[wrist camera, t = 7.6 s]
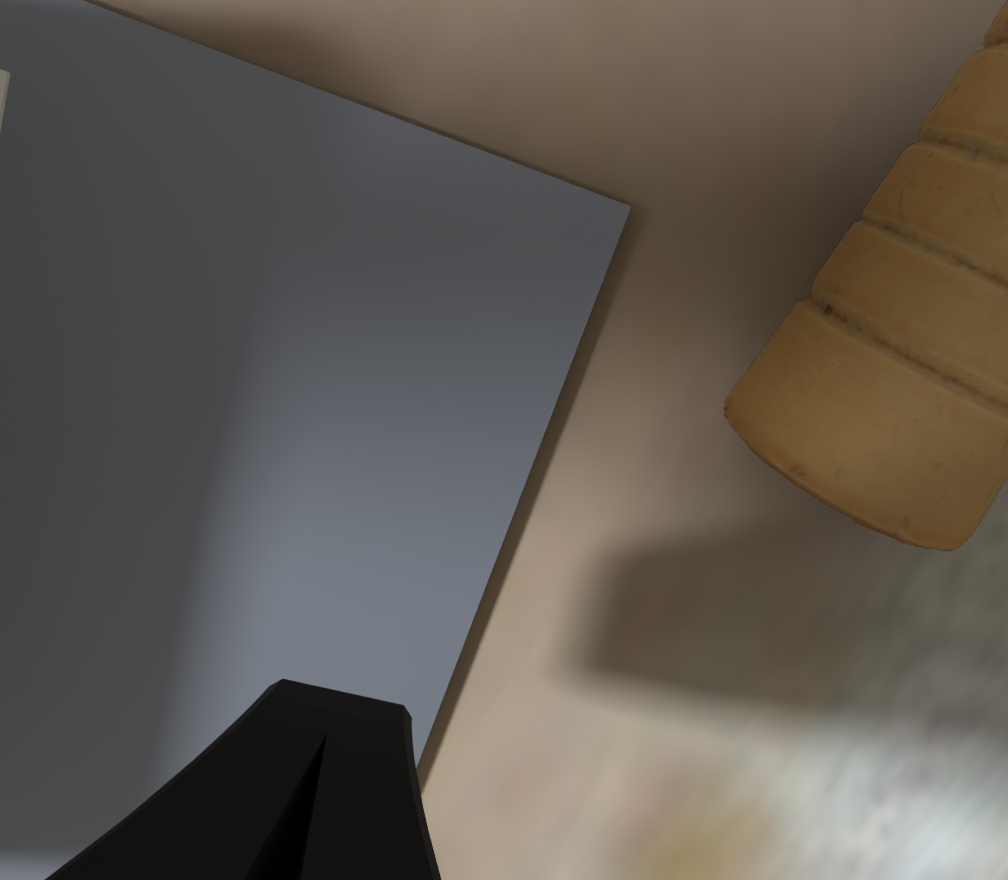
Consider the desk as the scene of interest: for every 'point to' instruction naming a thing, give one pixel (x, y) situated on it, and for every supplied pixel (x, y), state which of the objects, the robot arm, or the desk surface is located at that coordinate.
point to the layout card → (246, 401)
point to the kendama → (905, 335)
